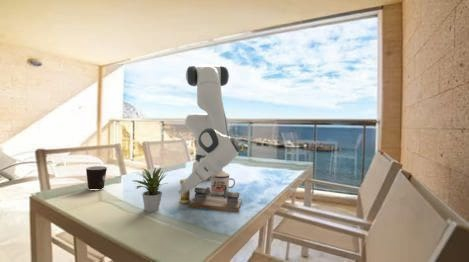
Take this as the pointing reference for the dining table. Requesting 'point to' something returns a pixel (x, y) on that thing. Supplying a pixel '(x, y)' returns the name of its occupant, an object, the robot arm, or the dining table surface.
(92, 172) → the coffee mug
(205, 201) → the shaft rig
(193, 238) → the dining table surface
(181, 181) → the brass door knob
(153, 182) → the house plant
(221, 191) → the teacup with lid
